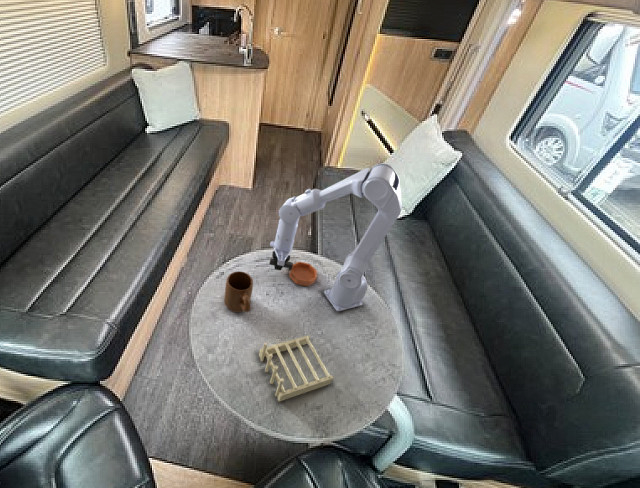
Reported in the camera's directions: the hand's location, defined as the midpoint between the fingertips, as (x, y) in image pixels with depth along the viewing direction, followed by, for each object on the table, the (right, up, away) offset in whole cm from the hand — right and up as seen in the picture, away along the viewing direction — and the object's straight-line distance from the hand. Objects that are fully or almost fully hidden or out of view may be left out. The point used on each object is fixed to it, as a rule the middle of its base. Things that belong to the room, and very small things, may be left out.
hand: (278, 266), depth 106 cm
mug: (-13, -11, -13) cm, 21 cm away
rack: (+1, -22, -26) cm, 34 cm away
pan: (+5, -3, +1) cm, 5 cm away
